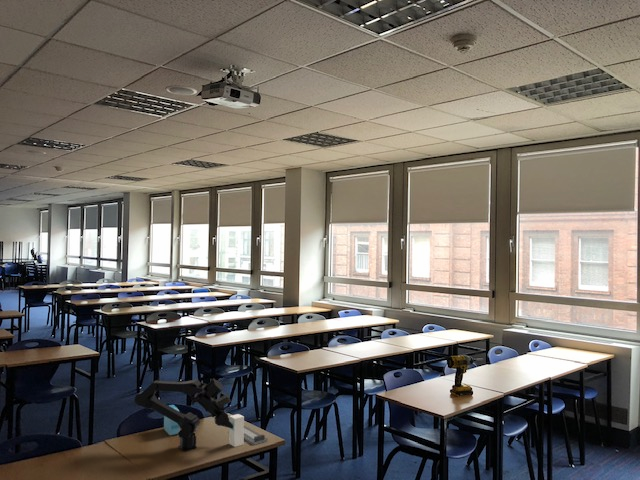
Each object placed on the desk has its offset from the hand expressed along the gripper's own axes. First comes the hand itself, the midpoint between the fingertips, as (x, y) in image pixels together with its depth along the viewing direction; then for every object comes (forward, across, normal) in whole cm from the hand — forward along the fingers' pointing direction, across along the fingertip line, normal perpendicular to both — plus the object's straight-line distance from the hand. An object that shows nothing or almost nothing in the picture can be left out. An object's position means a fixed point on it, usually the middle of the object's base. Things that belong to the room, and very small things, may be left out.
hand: (231, 424), depth 232 cm
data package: (-11, +27, +25) cm, 38 cm away
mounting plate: (+14, +8, 0) cm, 16 cm away
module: (+9, 0, +5) cm, 10 cm away
